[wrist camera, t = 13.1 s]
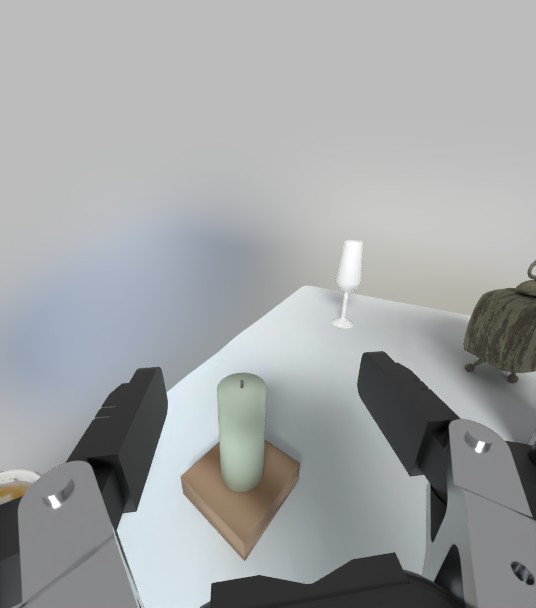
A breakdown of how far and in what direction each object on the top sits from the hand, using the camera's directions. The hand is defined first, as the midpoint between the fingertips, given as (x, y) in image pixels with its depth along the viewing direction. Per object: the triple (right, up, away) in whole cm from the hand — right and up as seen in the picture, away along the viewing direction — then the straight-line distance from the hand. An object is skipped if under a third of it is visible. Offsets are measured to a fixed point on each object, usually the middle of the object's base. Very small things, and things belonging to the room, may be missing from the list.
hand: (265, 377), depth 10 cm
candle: (-3, -17, +20) cm, 26 cm away
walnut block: (-3, -20, +21) cm, 29 cm away
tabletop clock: (+49, -12, +43) cm, 66 cm away
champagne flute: (+22, -3, +66) cm, 69 cm away
